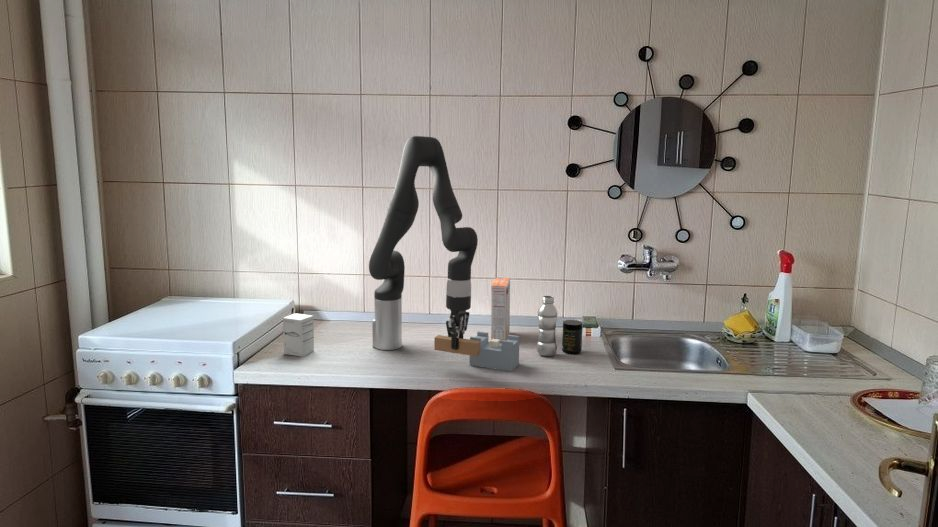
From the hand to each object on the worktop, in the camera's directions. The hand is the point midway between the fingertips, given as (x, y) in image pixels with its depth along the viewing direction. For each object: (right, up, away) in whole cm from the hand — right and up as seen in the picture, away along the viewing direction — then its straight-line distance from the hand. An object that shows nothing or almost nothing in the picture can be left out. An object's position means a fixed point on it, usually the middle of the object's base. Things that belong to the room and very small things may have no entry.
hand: (457, 347), depth 211 cm
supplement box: (-53, -4, +18) cm, 56 cm away
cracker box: (+15, -1, +39) cm, 42 cm away
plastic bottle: (+30, -5, +19) cm, 35 cm away
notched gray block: (+12, -6, +8) cm, 16 cm away
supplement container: (+39, -5, +23) cm, 45 cm away
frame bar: (0, -1, 0) cm, 1 cm away
